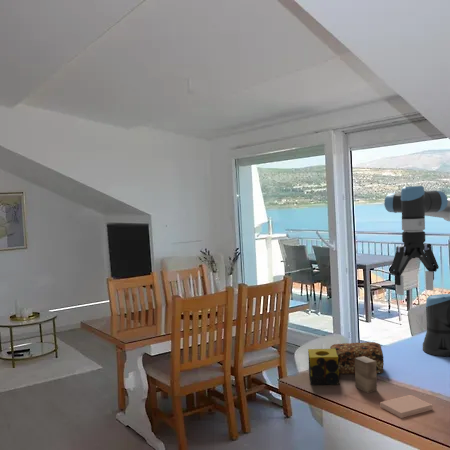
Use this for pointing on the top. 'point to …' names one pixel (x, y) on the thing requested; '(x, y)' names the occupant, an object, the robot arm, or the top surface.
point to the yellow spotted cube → (323, 367)
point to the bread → (357, 355)
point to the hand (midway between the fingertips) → (415, 292)
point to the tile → (406, 406)
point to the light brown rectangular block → (365, 374)
